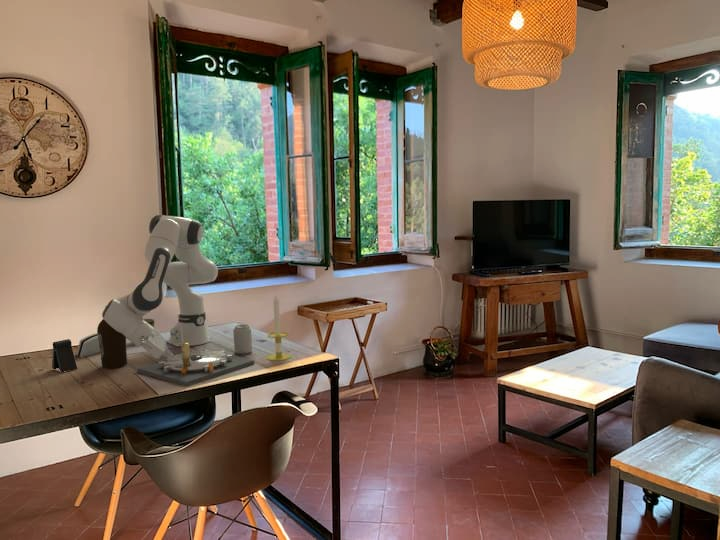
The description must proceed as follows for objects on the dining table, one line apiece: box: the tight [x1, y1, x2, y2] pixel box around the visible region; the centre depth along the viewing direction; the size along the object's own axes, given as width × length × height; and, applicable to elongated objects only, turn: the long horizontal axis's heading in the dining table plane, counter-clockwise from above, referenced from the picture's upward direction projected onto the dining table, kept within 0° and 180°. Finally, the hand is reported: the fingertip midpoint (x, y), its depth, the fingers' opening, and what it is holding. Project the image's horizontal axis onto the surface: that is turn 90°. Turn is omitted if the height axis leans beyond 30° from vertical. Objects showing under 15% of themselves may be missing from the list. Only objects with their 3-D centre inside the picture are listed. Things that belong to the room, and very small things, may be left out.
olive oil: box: [96, 305, 128, 370], centre depth 224 cm, size 11×11×25 cm
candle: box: [266, 295, 292, 362], centre depth 228 cm, size 10×10×27 cm
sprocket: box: [158, 342, 233, 374], centre depth 217 cm, size 27×28×11 cm
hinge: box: [74, 332, 100, 358], centre depth 248 cm, size 17×5×10 cm, turn 153°
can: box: [233, 323, 253, 355], centre depth 239 cm, size 8×8×12 cm
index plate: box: [136, 349, 255, 387], centre depth 218 cm, size 32×32×6 cm
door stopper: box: [51, 339, 78, 372], centre depth 222 cm, size 9×6×12 cm, turn 52°
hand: (172, 357), depth 206 cm, fingers closed
